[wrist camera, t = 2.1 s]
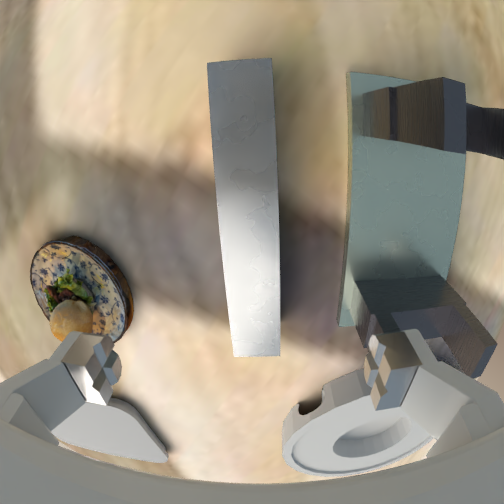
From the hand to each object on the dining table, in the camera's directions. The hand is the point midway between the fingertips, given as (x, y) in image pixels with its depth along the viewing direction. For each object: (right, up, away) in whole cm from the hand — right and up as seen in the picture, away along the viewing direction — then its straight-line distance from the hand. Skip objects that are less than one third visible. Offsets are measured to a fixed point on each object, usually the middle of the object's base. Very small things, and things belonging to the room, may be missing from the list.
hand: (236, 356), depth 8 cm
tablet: (-26, -24, +28) cm, 45 cm away
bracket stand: (+12, +6, +12) cm, 19 cm away
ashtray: (+16, -19, +24) cm, 34 cm away
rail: (0, +6, +13) cm, 15 cm away
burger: (-16, -1, +17) cm, 24 cm away
